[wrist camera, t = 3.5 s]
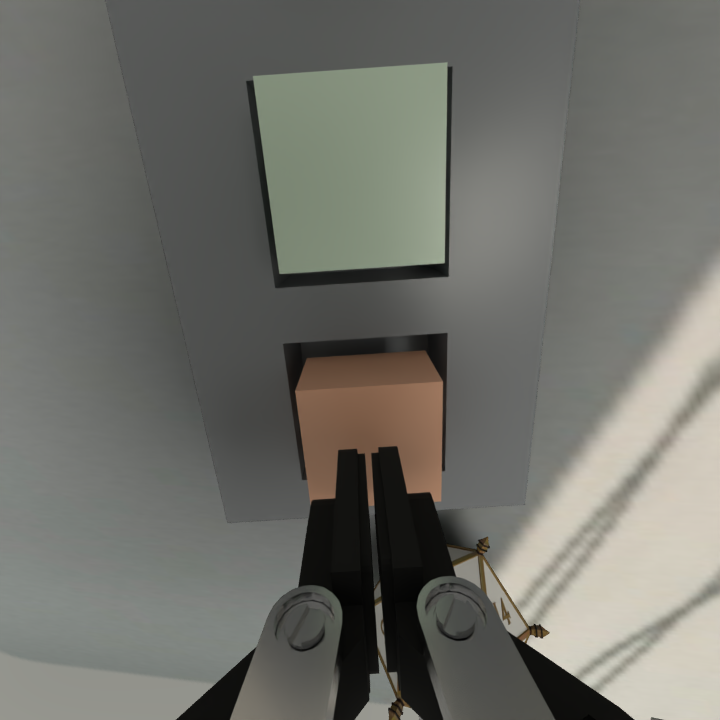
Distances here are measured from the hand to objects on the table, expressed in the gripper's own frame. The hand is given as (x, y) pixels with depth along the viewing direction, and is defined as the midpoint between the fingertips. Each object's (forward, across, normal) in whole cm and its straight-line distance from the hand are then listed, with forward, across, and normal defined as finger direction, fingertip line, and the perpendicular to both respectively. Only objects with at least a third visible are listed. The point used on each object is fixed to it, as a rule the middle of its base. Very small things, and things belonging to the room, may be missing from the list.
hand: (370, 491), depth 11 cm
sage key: (+5, 0, -8) cm, 9 cm away
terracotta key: (+5, 0, 0) cm, 5 cm away
